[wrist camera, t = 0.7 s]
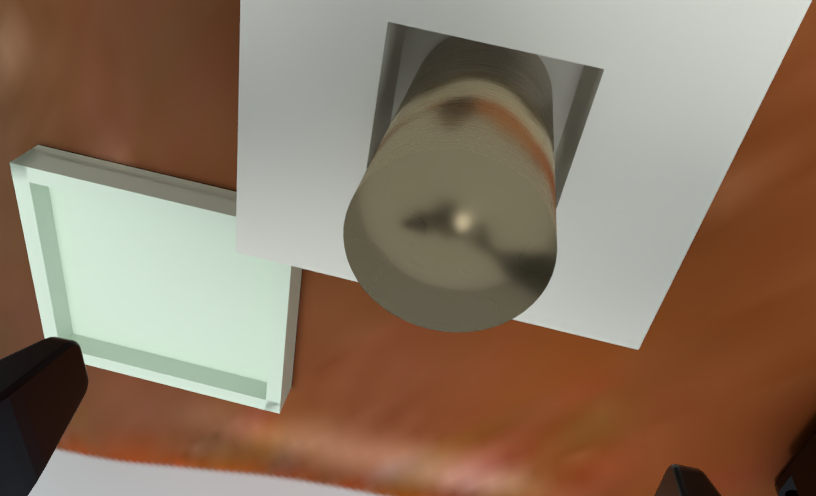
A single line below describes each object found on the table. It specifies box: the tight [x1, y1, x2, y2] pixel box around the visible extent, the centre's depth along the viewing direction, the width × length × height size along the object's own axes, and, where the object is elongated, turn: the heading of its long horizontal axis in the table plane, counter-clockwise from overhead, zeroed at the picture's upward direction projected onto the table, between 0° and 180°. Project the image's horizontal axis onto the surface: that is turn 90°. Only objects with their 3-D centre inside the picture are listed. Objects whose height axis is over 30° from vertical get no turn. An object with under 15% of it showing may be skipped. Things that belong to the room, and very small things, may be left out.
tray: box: [10, 145, 302, 414], centre depth 25 cm, size 10×9×2 cm
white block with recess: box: [236, 0, 812, 350], centre depth 18 cm, size 12×10×4 cm
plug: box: [343, 36, 557, 332], centre depth 15 cm, size 4×4×8 cm
